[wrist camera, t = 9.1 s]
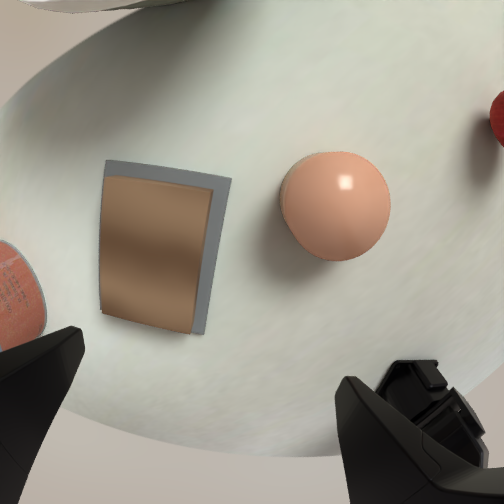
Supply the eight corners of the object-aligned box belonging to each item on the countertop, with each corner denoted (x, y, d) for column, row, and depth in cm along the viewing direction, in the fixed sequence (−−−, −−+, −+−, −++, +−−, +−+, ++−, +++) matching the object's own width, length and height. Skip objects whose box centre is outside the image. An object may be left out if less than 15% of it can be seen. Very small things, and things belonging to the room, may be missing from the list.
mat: (204, 331, 22) (203, 334, 21) (102, 306, 21) (100, 309, 21) (231, 178, 18) (231, 178, 18) (109, 159, 17) (105, 160, 17)
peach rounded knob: (354, 251, 20) (372, 269, 17) (270, 233, 19) (275, 249, 16) (376, 167, 18) (401, 170, 15) (291, 142, 17) (301, 138, 14)
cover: (194, 321, 21) (190, 334, 19) (111, 302, 20) (101, 313, 19) (213, 189, 18) (210, 192, 16) (116, 175, 17) (104, 177, 16)
